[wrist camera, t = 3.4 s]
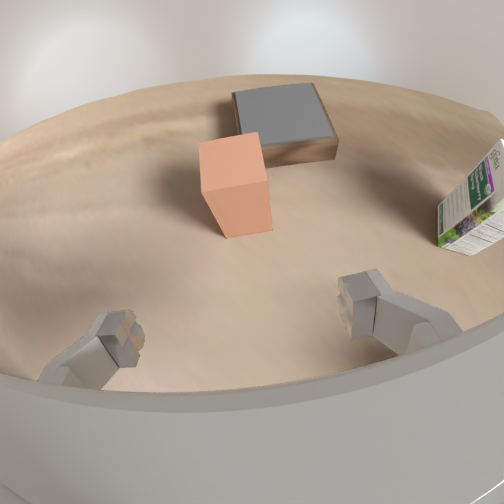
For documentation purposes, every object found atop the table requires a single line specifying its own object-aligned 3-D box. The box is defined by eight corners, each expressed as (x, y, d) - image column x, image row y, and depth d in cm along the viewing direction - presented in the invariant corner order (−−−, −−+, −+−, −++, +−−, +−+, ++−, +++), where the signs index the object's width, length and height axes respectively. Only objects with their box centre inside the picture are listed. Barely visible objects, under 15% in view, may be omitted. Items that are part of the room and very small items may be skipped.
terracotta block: (226, 238, 30) (201, 192, 20) (222, 197, 31) (198, 143, 22) (272, 230, 29) (267, 180, 20) (265, 190, 31) (257, 131, 21)
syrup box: (436, 204, 28) (497, 134, 14) (470, 216, 27) (535, 158, 13) (436, 247, 27) (513, 187, 13) (472, 258, 26) (549, 209, 12)
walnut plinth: (244, 171, 32) (240, 151, 28) (235, 111, 35) (230, 90, 32) (334, 159, 31) (339, 138, 28) (311, 101, 35) (312, 80, 31)
